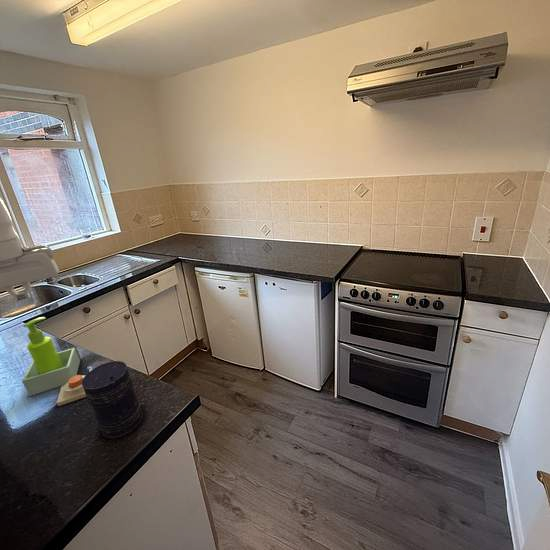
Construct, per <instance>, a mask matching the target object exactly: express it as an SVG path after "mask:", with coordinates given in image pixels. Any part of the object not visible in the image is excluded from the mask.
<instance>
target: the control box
mask: <svg viewBox="0 0 550 550" xmlns="http://www.w3.org/2000/svg"><path fill="white" fill-rule="evenodd" d="M85 375H86V374H85ZM85 375H83V374H82V375H81V376H82V378H84V377H85ZM84 398H87V397H86V395H85V391H84V388H83V386H82V384H81V385H79V386H78V387H75V388H70V386H69V384H68V382H67V383H66V384H65V385H62V386H60V390H59V394H58V397H57V399H56V404H55V405H57V407H60V406H63V405H66V404H70V403H72V402H75V401H78V400H80V399H84Z"/></svg>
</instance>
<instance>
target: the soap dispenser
mask: <svg viewBox="0 0 550 550" xmlns="http://www.w3.org/2000/svg"><path fill="white" fill-rule="evenodd" d="M46 319H47V317H45V316H40V317H35V318H34V319H32V320H29V321H27V322H25V323H24V324H23V325H22V326H23V327H24V328H28V331H29V332H27V337H28V340H29V343H27V345H26V348H27V350H28V352H29V354H30V356H31V358H32V361H33V360H34V362H35V364H36V366H37V369H38V371H39V373H40V374H44V373H47V372H50V371H53V370H57V369H60V368H63V365H62V363H61V361H60V359H59V356H58V354H57V353H58V352H57V350H56V347H55V345H54V343H53V341H52V337H50V336H44V334H43V331H42V329H40V328H37V327H36V325H35V324H36V323H39V322H41V321H44V320H46Z"/></svg>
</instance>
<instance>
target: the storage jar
mask: <svg viewBox="0 0 550 550" xmlns="http://www.w3.org/2000/svg"><path fill="white" fill-rule="evenodd" d="M133 382H134V381H133V379H132V376H131V373H130V371H129V368H128V365H127V363H125V362H124V361H122V360H121V361H120V360H114V361H110V362H106V363H103V364H100V365H98V366H96V367H94V368H93V369H91V370H90V371H89V372H87V373H86V374H85V377H84V378H83V380H82V386H83V388H84V391H85V395H86V397H85V398H86V399H87V403H89V405H90V406H91V407H92V409H93V411H94V417H95V419H96V423H97V425H98V427H99V429H100V431H101V433H102V435H103V436H104V437H105V438H108V439H115V438H120V437H123V436H125V435H127V434H129V433H130V432H132V431H133V430H134V429H136V428H137V426H139V425H140V423H141V422H142V419H143V417H144V411H143V409H142V406H141V405H142V404H141V402H140V399H139V398H138V395H137V393H136V392H135V389H134V383H133Z"/></svg>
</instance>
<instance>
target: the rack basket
mask: <svg viewBox="0 0 550 550" xmlns="http://www.w3.org/2000/svg"><path fill="white" fill-rule="evenodd" d="M57 354H58V356H59V359H60V361H61V363H62V365H63V368H60V369H57V370H53V371H50V372H47V373H44V374H40V373H39V371H38V369H37V366H36V364H35V362H34V360H33V359H32V360H31V363H30V365H29V366H28V368H27V371H26V372H25V374H24V377H23V378H22V380H21V383H22V385H23V386H24V387H25V388H24V389H25V390H26V392H27V394H28V396H29V397H31V396H34V395H37V394H41V393H43V392H47V391H50V390H53V389H56V388H59V387H62V386H63V385H65V384H66V383H67V382H68V380H69V379H70V378H72V377H74V376H76V375H78V370H79V367H80V363H81V359H80V357H79V354H78V351H77V350H76V347H72V348H69V349H65V350H62V351H58V352H57Z"/></svg>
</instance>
